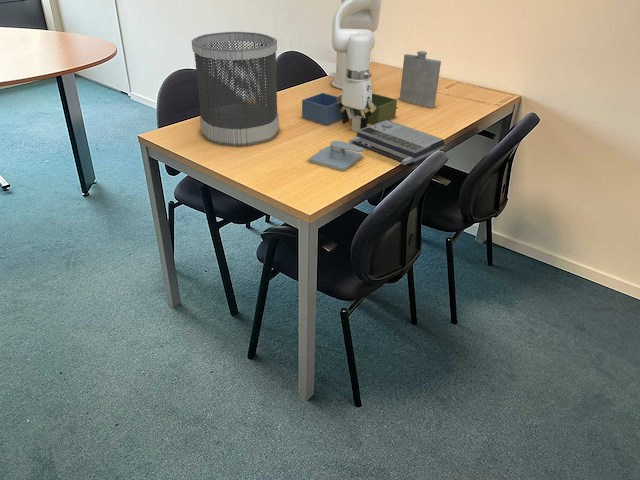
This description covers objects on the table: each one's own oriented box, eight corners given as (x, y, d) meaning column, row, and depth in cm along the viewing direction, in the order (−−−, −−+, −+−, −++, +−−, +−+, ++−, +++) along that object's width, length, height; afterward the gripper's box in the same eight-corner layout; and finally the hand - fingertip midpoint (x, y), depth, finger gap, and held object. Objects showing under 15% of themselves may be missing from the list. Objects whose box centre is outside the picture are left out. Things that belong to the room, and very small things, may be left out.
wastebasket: (220, 151, 166) (212, 53, 150) (192, 126, 184) (181, 36, 168) (290, 136, 177) (289, 44, 161) (257, 114, 195) (253, 29, 179)
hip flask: (436, 106, 208) (443, 54, 197) (430, 108, 205) (437, 56, 195) (402, 97, 217) (407, 47, 206) (396, 99, 214) (402, 48, 203)
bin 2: (351, 118, 195) (352, 100, 191) (369, 110, 202) (370, 92, 199) (377, 125, 189) (379, 107, 185) (395, 117, 196) (397, 99, 193)
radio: (446, 136, 167) (407, 153, 155) (443, 152, 170) (405, 169, 158) (386, 116, 181) (347, 130, 169) (385, 131, 184) (346, 146, 172)
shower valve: (352, 156, 152) (308, 144, 158) (351, 173, 155) (308, 161, 161) (371, 142, 161) (329, 132, 167) (370, 158, 164) (328, 148, 170)
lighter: (363, 131, 183) (365, 109, 179) (361, 133, 182) (362, 110, 178) (347, 126, 187) (348, 104, 183) (344, 128, 186) (345, 106, 181)
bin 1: (301, 118, 193) (302, 99, 190) (321, 110, 201) (322, 92, 197) (326, 125, 187) (327, 107, 184) (346, 117, 195) (347, 99, 191)
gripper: (385, 76, 172) (381, 128, 181) (343, 67, 181) (341, 116, 191) (372, 81, 167) (368, 134, 177) (329, 71, 176) (328, 122, 186)
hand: (354, 124), depth 183 cm, fingers closed on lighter, 7 cm apart
